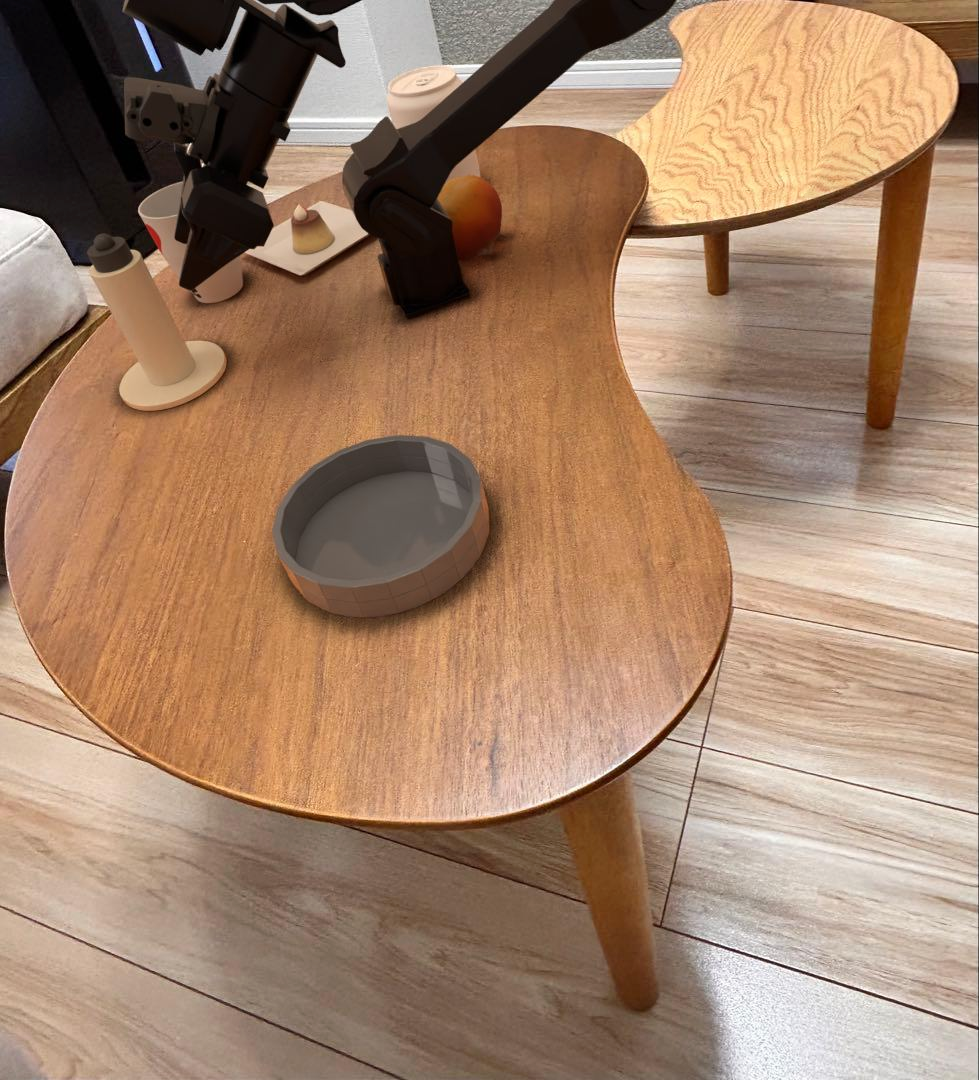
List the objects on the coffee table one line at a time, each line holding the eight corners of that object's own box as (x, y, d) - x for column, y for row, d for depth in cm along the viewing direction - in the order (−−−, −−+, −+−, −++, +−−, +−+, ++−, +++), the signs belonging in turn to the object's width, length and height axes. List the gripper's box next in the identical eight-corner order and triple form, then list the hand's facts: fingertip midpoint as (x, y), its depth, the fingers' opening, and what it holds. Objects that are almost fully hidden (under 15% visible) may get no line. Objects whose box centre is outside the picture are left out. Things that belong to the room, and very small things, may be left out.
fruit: (516, 251, 82) (460, 184, 78) (457, 293, 86) (401, 232, 83) (530, 210, 87) (478, 146, 83) (473, 252, 92) (422, 193, 88)
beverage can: (400, 210, 96) (370, 97, 87) (428, 176, 101) (402, 66, 92) (467, 209, 93) (442, 92, 85) (492, 175, 98) (471, 61, 89)
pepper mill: (203, 368, 79) (133, 230, 69) (160, 392, 78) (83, 254, 68) (184, 351, 82) (115, 216, 72) (142, 374, 80) (66, 239, 71)
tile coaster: (220, 333, 84) (218, 328, 84) (233, 386, 77) (230, 381, 77) (120, 368, 83) (117, 362, 83) (124, 424, 76) (120, 419, 76)
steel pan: (454, 447, 66) (444, 411, 63) (520, 571, 56) (512, 534, 53) (276, 513, 64) (258, 478, 62) (311, 653, 54) (292, 618, 52)
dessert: (323, 209, 100) (310, 168, 96) (390, 231, 93) (378, 187, 89) (240, 258, 95) (223, 217, 91) (304, 285, 88) (287, 241, 85)
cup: (189, 278, 94) (147, 189, 87) (261, 263, 93) (224, 171, 86) (176, 318, 88) (130, 225, 81) (253, 302, 87) (213, 207, 80)
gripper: (149, 1, 69) (85, 179, 76) (155, 63, 56) (77, 272, 62) (280, 77, 75) (209, 235, 82) (312, 149, 62) (226, 330, 69)
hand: (182, 263), depth 74 cm, fingers open, 9 cm apart
